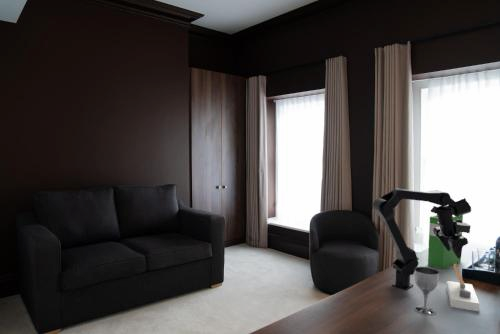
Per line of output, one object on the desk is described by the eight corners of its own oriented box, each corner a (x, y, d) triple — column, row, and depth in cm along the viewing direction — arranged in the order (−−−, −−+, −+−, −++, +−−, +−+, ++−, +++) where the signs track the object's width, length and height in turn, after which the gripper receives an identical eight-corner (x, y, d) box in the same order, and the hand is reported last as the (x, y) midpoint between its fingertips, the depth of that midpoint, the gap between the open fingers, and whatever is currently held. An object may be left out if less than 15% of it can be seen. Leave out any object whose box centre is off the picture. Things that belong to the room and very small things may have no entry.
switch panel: (450, 306, 139) (451, 299, 139) (446, 287, 156) (447, 280, 156) (479, 311, 135) (479, 303, 135) (471, 291, 153) (471, 284, 153)
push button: (460, 296, 140) (460, 292, 140) (459, 292, 144) (459, 289, 144) (471, 298, 139) (471, 294, 139) (469, 294, 142) (470, 290, 142)
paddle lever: (461, 288, 148) (453, 267, 148) (460, 284, 152) (452, 263, 152) (465, 288, 147) (458, 266, 148) (464, 284, 151) (457, 263, 152)
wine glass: (427, 317, 131) (429, 275, 129) (408, 308, 138) (409, 268, 136) (442, 312, 134) (444, 272, 133) (422, 303, 141) (424, 265, 140)
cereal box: (445, 257, 195) (447, 212, 193) (460, 261, 189) (462, 214, 187) (427, 264, 185) (429, 216, 183) (442, 269, 179) (445, 219, 177)
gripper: (477, 220, 148) (485, 257, 149) (454, 209, 166) (462, 242, 168) (448, 228, 149) (457, 264, 150) (429, 216, 167) (437, 248, 169)
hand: (454, 254), depth 159 cm, fingers open, 9 cm apart
